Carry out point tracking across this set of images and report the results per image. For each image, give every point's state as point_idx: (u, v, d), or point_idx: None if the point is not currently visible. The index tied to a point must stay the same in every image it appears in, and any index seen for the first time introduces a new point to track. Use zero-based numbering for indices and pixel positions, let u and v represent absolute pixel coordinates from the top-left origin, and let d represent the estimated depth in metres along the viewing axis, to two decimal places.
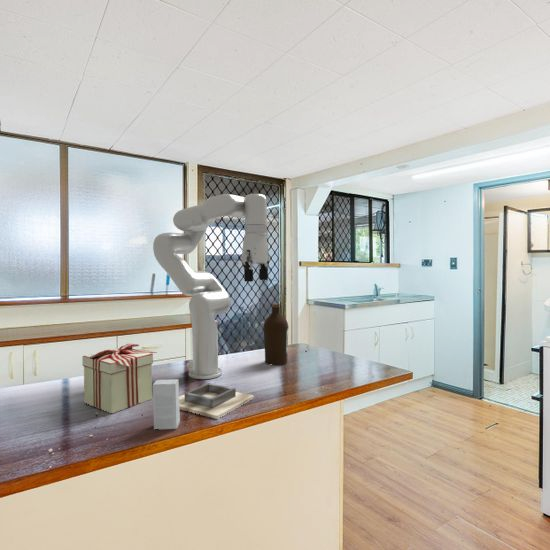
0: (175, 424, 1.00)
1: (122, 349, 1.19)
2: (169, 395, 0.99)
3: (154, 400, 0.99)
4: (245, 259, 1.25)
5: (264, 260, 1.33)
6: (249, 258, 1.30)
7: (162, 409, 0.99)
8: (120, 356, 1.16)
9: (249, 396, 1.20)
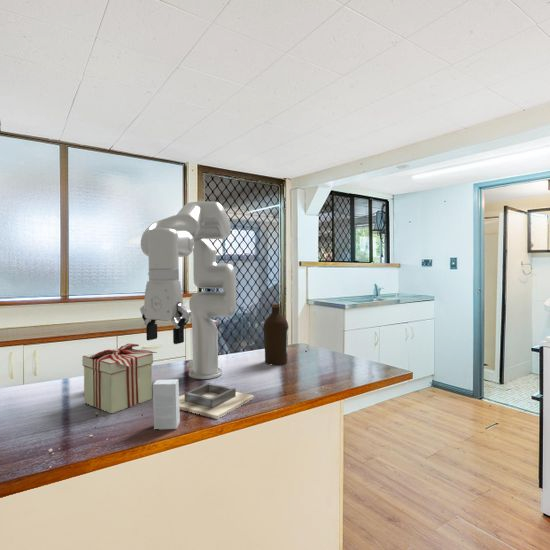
0: (175, 424, 1.00)
1: (122, 349, 1.19)
2: (169, 395, 0.99)
3: (154, 400, 0.99)
4: None
5: None
6: None
7: (162, 409, 0.99)
8: (120, 356, 1.16)
9: (249, 396, 1.20)
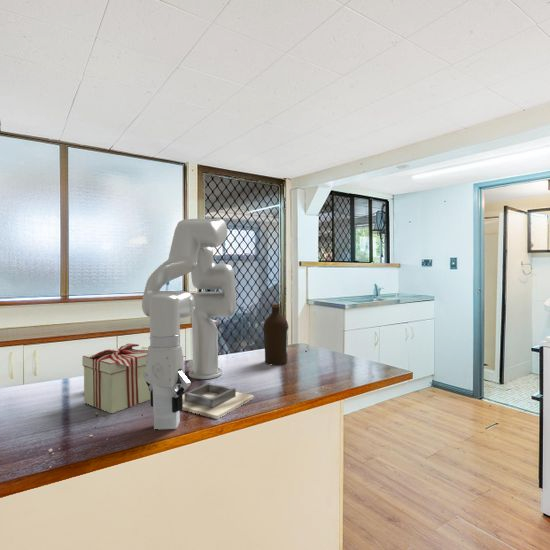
0: (175, 424, 1.00)
1: (122, 349, 1.19)
2: (169, 395, 0.99)
3: (154, 400, 0.99)
4: None
5: None
6: None
7: (162, 409, 0.99)
8: (120, 356, 1.16)
9: (249, 396, 1.20)
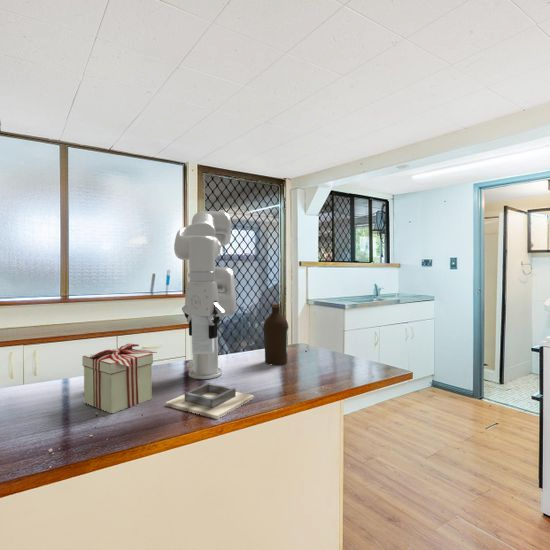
0: (211, 349, 1.14)
1: (122, 349, 1.19)
2: (205, 323, 1.13)
3: (193, 328, 1.13)
4: None
5: None
6: None
7: (200, 336, 1.13)
8: (120, 356, 1.16)
9: (249, 396, 1.20)
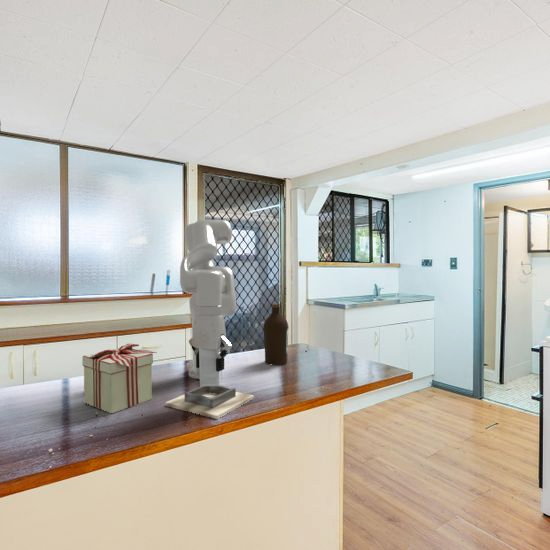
0: (218, 382, 1.16)
1: (122, 349, 1.19)
2: (213, 356, 1.16)
3: (200, 361, 1.16)
4: None
5: None
6: None
7: (207, 369, 1.16)
8: (120, 356, 1.16)
9: (249, 396, 1.20)
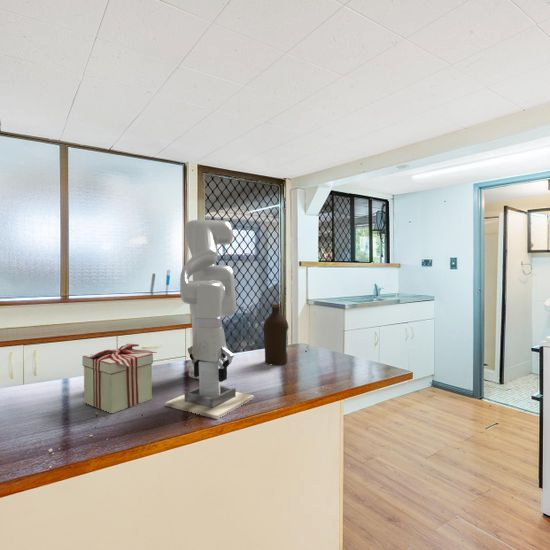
0: None
1: (122, 349, 1.19)
2: (212, 371, 1.16)
3: (200, 375, 1.16)
4: None
5: None
6: None
7: (207, 383, 1.16)
8: (120, 356, 1.16)
9: (249, 396, 1.20)
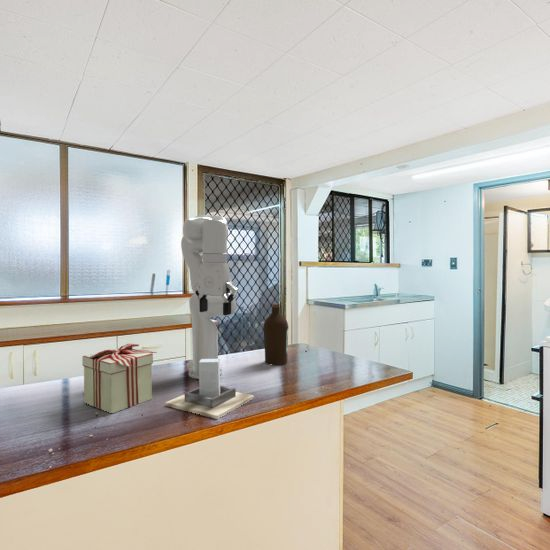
0: None
1: (122, 349, 1.19)
2: (212, 371, 1.16)
3: (200, 375, 1.16)
4: None
5: None
6: None
7: (207, 383, 1.16)
8: (120, 356, 1.16)
9: (249, 396, 1.20)
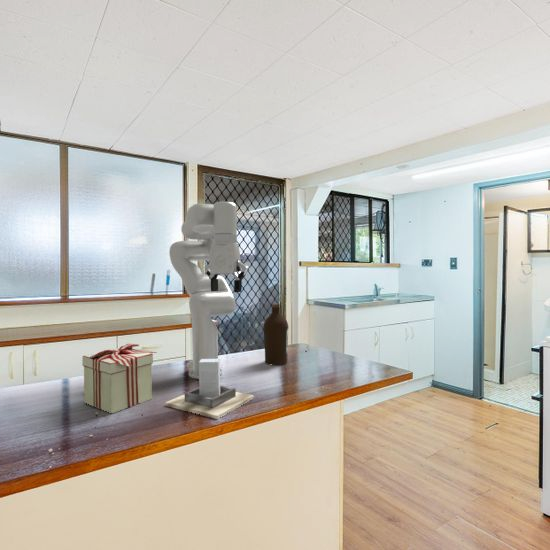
0: None
1: (122, 349, 1.19)
2: (212, 371, 1.16)
3: (200, 375, 1.16)
4: None
5: None
6: None
7: (207, 383, 1.16)
8: (120, 356, 1.16)
9: (249, 396, 1.20)
